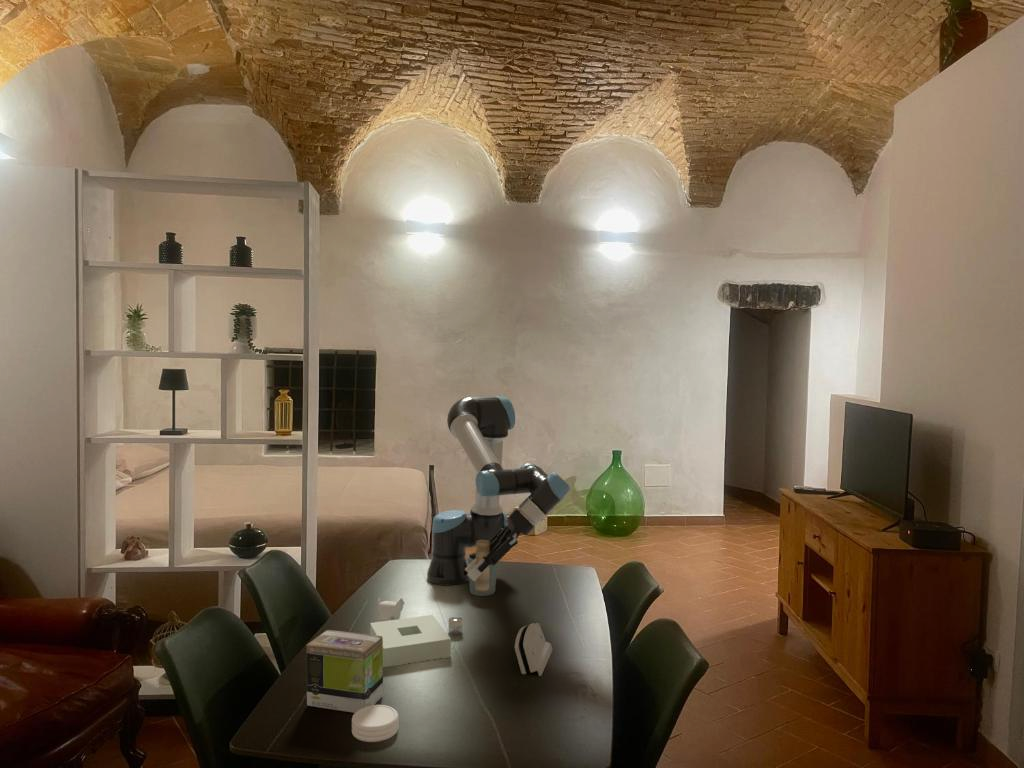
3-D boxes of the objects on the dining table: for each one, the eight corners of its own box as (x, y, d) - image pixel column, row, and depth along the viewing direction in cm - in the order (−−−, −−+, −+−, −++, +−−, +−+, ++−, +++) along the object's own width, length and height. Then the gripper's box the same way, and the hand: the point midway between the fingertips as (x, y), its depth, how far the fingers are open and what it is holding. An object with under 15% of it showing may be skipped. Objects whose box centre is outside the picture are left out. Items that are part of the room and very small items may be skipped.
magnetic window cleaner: (540, 676, 186) (528, 638, 186) (523, 680, 187) (511, 642, 188) (553, 649, 202) (541, 614, 203) (537, 653, 204) (525, 618, 204)
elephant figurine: (370, 626, 217) (370, 602, 216) (383, 614, 226) (383, 591, 226) (394, 628, 215) (394, 604, 215) (407, 616, 224) (407, 593, 224)
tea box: (384, 695, 175) (384, 635, 174) (364, 716, 166) (364, 652, 165) (327, 686, 179) (327, 627, 178) (305, 706, 170) (304, 644, 169)
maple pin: (473, 587, 216) (474, 540, 215) (486, 585, 217) (487, 539, 216) (477, 591, 212) (478, 544, 211) (490, 590, 214) (491, 542, 213)
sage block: (370, 640, 207) (370, 622, 206) (432, 631, 213) (432, 614, 213) (383, 667, 190) (383, 648, 190) (450, 657, 197) (450, 638, 196)
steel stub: (446, 631, 214) (446, 617, 214) (459, 629, 215) (460, 616, 215) (450, 636, 210) (450, 622, 210) (464, 634, 212) (464, 621, 211)
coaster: (401, 718, 165) (401, 703, 165) (395, 743, 155) (395, 727, 155) (356, 719, 165) (356, 703, 165) (347, 743, 155) (347, 727, 155)
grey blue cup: (463, 594, 244) (463, 558, 243) (473, 584, 254) (474, 550, 253) (492, 598, 241) (492, 562, 240) (501, 588, 251) (502, 553, 250)
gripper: (541, 533, 208) (483, 594, 206) (528, 518, 225) (473, 574, 223) (523, 516, 207) (464, 576, 205) (511, 501, 223) (456, 557, 221)
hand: (469, 575), depth 214 cm, fingers closed on maple pin, 4 cm apart
